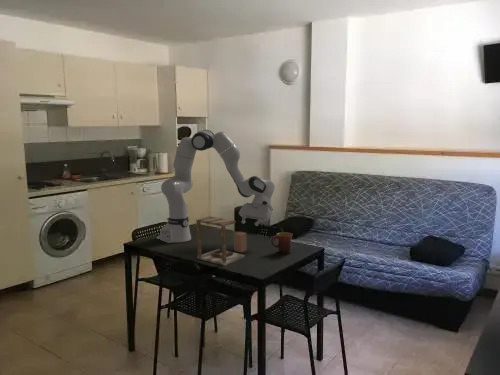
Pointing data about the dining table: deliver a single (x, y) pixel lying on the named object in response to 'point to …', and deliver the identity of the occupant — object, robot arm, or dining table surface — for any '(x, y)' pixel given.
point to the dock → (222, 255)
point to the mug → (283, 242)
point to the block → (240, 242)
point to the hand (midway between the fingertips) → (249, 224)
